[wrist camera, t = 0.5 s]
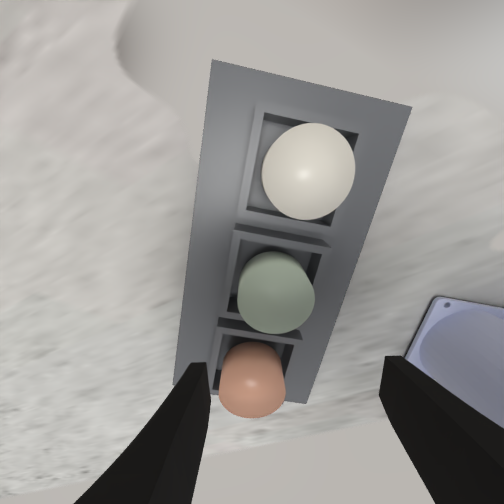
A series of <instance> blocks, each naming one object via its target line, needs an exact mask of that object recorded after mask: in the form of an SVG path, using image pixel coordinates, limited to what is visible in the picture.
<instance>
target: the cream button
mask: <svg viewBox="0 0 504 504" xmlns="http://www.w3.org/2000/svg"><path fill="white" fill-rule="evenodd" d="M354 176H355V159H354V155H353V152H352V149H351V147H350V145H349V143H348V142H347V140H346V139H345V138H344V136H342V135H341V134H340V133H339V132H338V131H337V130H335V129H334V128H331V127H329V126H327V125H324V124H319V123H306V124H301V125H298V126H295V127H293V128H291V129H289V130H288V131H286V132H285V133H283V134H282V135H281V136H280V137H279V138H278V139H277V140H276V141H275V142H274V143H273V144H272V145H271V147H270V148H269V149H268V151H267V153H266V154H265V157H264V159H263V162H262V166H261V182H262V186H263V189H264V191H265V193H266V195H267V196H268V198H269V199H270V201H271V202H272V204H273V205H274V206H275V207H276V208H277V209H278V210H279V211H280V212H282V213H283V214H285V215H287V216H289V217H292V218H295V219H300V220H311V219H317V218H320V217H323V216H325V215H327V214H329V213H331V212H332V211H333V210H335V209H336V208H337V207H338V206H339V205H340V204H341V203H342V202H343V201H344V200H345V198H346V197H347V195H348V193H349V192H350V190H351V187H352V184H353V181H354Z"/></svg>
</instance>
